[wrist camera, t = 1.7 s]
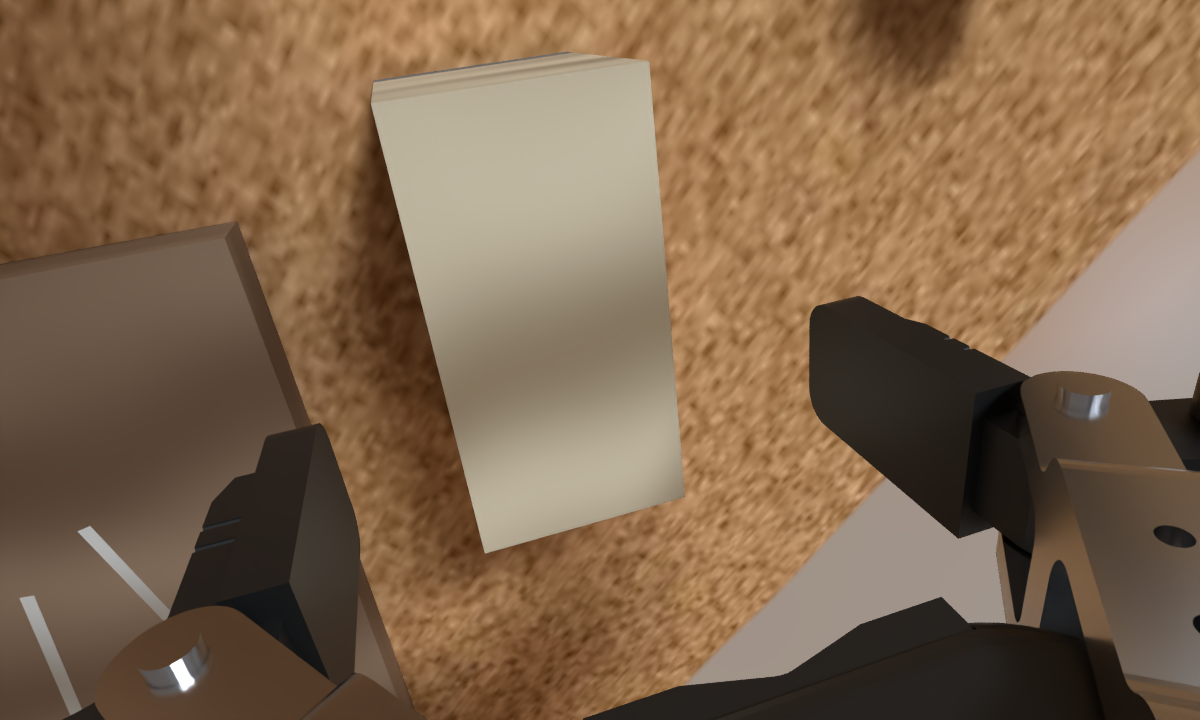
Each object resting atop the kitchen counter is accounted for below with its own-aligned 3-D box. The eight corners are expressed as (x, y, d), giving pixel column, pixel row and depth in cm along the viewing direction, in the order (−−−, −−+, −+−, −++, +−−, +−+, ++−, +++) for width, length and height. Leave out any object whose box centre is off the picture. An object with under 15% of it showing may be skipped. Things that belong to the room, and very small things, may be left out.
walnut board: (-666, 385, 13) (-781, 424, 12) (236, 221, 16) (224, 238, 15) (-74, 937, 22) (-103, 994, 21) (434, 764, 25) (437, 805, 24)
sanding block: (374, 80, 16) (370, 103, 11) (565, 51, 17) (649, 60, 12) (457, 417, 20) (485, 553, 15) (608, 380, 21) (684, 496, 16)
